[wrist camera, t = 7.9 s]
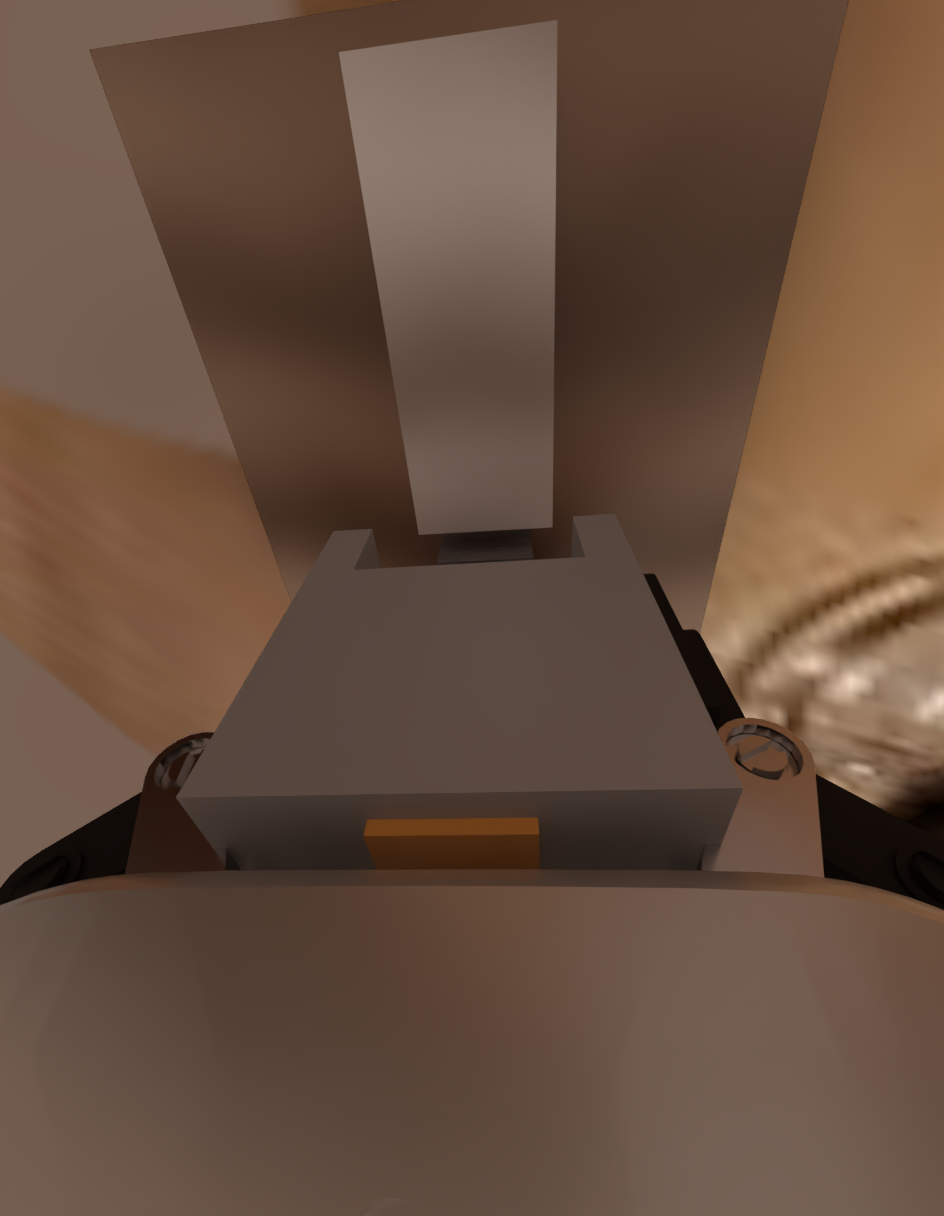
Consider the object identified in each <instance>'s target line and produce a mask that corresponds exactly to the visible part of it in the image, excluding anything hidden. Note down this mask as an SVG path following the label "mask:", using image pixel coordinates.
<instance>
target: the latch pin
mask: <svg viewBox="0 0 944 1216" xmlns="http://www.w3.org/2000/svg"><path fill="white" fill-rule="evenodd" d="M523 560H533V551H532V541H531V532H530V529H514V530H496V531H478V532H460V533H443V536H442V540H441V545H440V550H439V555H438V560H437V565H450V564H468V563H486V562H504V561H523Z"/></svg>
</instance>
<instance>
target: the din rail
mask: <svg viewBox="0 0 944 1216" xmlns="http://www.w3.org/2000/svg"><path fill="white" fill-rule="evenodd" d="M848 1H849V0H406V1H399V2H393V3H387V4H380V5H374V6H367V7H361V8H354V9H348V10H342V11H335V12H329V13H322V14H316V15H309V16H303V17H296V18H290V19H284V20H277V21H271V22H264V23H258V24H252V25H245V26H239V27H233V28H226V29H219V30H214V31H206V32H200V33H193V34H187V35H181V36H174V37H168V38H161V39H155V40H149V41H143V42H136V43H129V44H123V45H116V46H110V47H103V48H97V49H91V50H90V53H91V56H92V58H93V61H94V64H95V67H96V69H97V72H98V75H99V78H100V80H101V83H102V86H103V89H104V91H105V94H106V97H107V100H108V102H109V105H110V108H111V110H112V113H113V116H114V119H115V121H116V124H117V127H118V130H119V132H120V135H121V138H122V141H123V143H124V146H125V149H126V151H127V154H128V157H129V160H130V162H131V165H132V168H133V170H134V173H135V176H136V179H137V181H138V184H139V187H140V190H141V192H142V195H143V198H144V201H145V203H146V206H147V209H148V211H149V214H150V217H151V220H152V222H153V225H154V228H155V231H156V233H157V236H158V239H159V242H160V244H161V247H162V250H163V253H164V255H165V258H166V261H167V263H168V266H169V269H170V272H171V274H172V277H173V280H174V282H175V285H176V288H177V291H178V293H179V296H180V299H181V301H182V304H183V307H184V310H185V313H186V315H187V318H188V321H189V324H190V326H191V329H192V331H193V334H194V337H195V340H196V343H197V345H198V348H199V351H200V354H201V356H202V359H203V362H204V364H205V367H206V370H207V373H208V375H209V378H210V381H211V384H212V386H213V389H214V392H215V394H216V397H217V400H218V403H219V405H220V408H221V411H222V414H223V416H224V419H225V422H226V425H227V427H228V430H229V433H230V435H231V438H232V441H233V444H234V446H235V449H236V452H237V455H238V457H239V460H240V463H241V465H242V468H243V471H244V474H245V476H246V479H247V482H248V485H249V487H250V490H251V493H252V496H253V498H254V501H255V504H256V506H257V509H258V512H259V515H260V517H261V520H262V523H263V526H264V528H265V531H266V534H267V536H268V539H269V542H270V545H271V547H272V550H273V553H274V556H275V558H276V561H277V564H278V567H279V569H280V572H281V575H282V577H283V580H284V583H285V586H286V588H287V591H288V594H289V597H290V599H291V602H292V601H293V599H294V597H295V596H296V594H297V592H298V591H299V589H300V587H301V586H302V584H303V582H304V580H305V579H306V577H307V575H308V574H309V572H310V570H311V569H312V567H313V565H314V564H315V562H316V560H317V558H318V557H319V555H320V553H321V552H322V550H323V548H324V547H325V545H326V543H327V542H328V540H329V538H330V537H331V535H332V533H333V531H345V530H361V529H372V530H373V534H374V539H375V543H376V548H377V552H378V557H379V561H380V566H381V568H395V567H413V566H431V565H437V560H438V555H439V550H440V545H441V540H442V536H443V533H460V532H478V531H496V530H514V529H530V532H531V541H532V551H533V560H541V559H559V558H572V533H573V516H588V515H604V514H615V515H616V517H617V519H618V522H619V524H620V526H621V528H622V530H623V532H624V534H625V536H626V539H627V541H628V543H629V545H630V547H631V549H632V551H633V554H634V556H635V558H636V560H637V562H638V564H639V566H640V568H641V571H642V573H643V574H650V573H653V574H655V575H656V577H657V579H658V581H659V583H660V585H661V587H662V589H663V591H664V593H665V595H666V597H667V599H668V601H669V603H670V605H671V607H672V609H673V611H674V613H675V615H676V617H677V619H678V621H679V623H680V625H681V627H682V629H683V630H688V629H694V630H696V631H698V632H699V634H700V631H701V627H702V622H703V618H704V614H705V610H706V605H707V601H708V597H709V593H710V588H711V584H712V580H713V576H714V571H715V567H716V563H717V559H718V554H719V550H720V546H721V542H722V537H723V533H724V529H725V525H726V520H727V516H728V512H729V507H730V503H731V499H732V495H733V490H734V486H735V482H736V478H737V473H738V469H739V465H740V461H741V456H742V452H743V448H744V444H745V439H746V435H747V431H748V427H749V422H750V418H751V414H752V409H753V405H754V401H755V397H756V392H757V388H758V384H759V380H760V375H761V371H762V367H763V363H764V358H765V354H766V350H767V346H768V341H769V337H770V333H771V329H772V324H773V320H774V316H775V312H776V307H777V303H778V299H779V294H780V290H781V286H782V282H783V277H784V273H785V269H786V265H787V260H788V256H789V252H790V248H791V243H792V239H793V235H794V231H795V226H796V222H797V218H798V214H799V209H800V205H801V201H802V197H803V192H804V188H805V184H806V179H807V175H808V171H809V167H810V162H811V158H812V154H813V150H814V145H815V141H816V137H817V133H818V128H819V124H820V120H821V116H822V111H823V107H824V103H825V99H826V94H827V90H828V86H829V82H830V77H831V73H832V69H833V64H834V60H835V56H836V52H837V47H838V43H839V39H840V35H841V30H842V26H843V22H844V18H845V13H846V9H847V5H848Z"/></svg>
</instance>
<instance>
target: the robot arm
mask: <svg viewBox="0 0 944 1216" xmlns="http://www.w3.org/2000/svg"><path fill="white" fill-rule="evenodd" d="M643 575H644V577H645V579H646V581H647V583H648V586H649V588H650V590H651V592H652V594H653V596H654V598H655V600H656V603H657V605H658V607H659V609H660V611H661V613H662V615H663V617H664V620H665V622H666V624H667V626H668V628H669V630H670V632H671V635H672V637H673V639H674V641H675V643H676V645H677V647H678V649H679V652H680V654H681V656H682V658H683V660H684V662H685V664H686V667H687V669H688V671H689V673H690V675H691V677H692V679H693V681H694V684H695V686H696V688H697V690H698V692H699V694H700V696H701V699H702V701H703V703H704V705H705V707H706V709H707V711H708V713H709V716H710V718H711V720H712V722H713V724H714V726H715V728H716V731H717V733H718V735H719V737H720V739H721V741H722V743H723V745H724V748H725V750H726V752H727V754H728V756H729V758H730V760H731V763H732V765H733V767H734V769H735V771H736V773H737V775H738V777H739V780H740V782H741V784H742V786H743V790H742V793H741V795H740V798H739V801H738V803H737V806H736V808H735V811H734V814H733V816H732V819H731V821H730V824H729V826H728V829H727V832H726V834H725V837H724V839H723V842H722V844H704V847H703V850H702V853H701V856H700V858H699V861H698V864H697V870H696V871H691V870H539V869H460V870H250V871H240V867H239V866H238V864H237V863H236V861H235V860H234V858H233V857H232V856H231V854H230V853H229V851H228V850H227V848H212V846H211V845H210V843H209V842H208V841H207V839H206V838H205V837H204V835H203V834H202V833H201V831H200V830H199V828H198V827H197V826H196V824H195V823H194V822H193V820H192V819H191V818H190V816H189V815H188V813H187V812H186V811H185V809H184V808H183V807H182V805H181V804H180V802H179V801H178V800H177V798H176V797H177V795H178V793H179V791H180V790H181V788H182V786H183V785H184V783H185V781H186V780H187V778H188V776H189V775H190V773H191V771H192V770H193V768H194V766H195V764H196V763H197V761H198V759H199V758H200V756H201V754H202V753H203V751H204V749H205V748H206V746H207V744H208V743H209V741H210V739H211V737H212V736H213V734H214V732H202V733H197V734H192V735H189V736H187V737H185V738H182V739H180V740H178V741H176V742H175V743H173V744H172V745H170V746H168V747H167V748H166V749H165V750H163V751H162V752H161V753H160V754H159V755H158V756H157V757H156V758H155V759H154V761H153V762H152V764H151V765H150V766H149V768H148V771H147V773H146V776H145V780H144V784H143V789H142V792H141V793H139V794H137V795H136V796H134V797H132V798H130V799H129V800H127V801H125V802H124V803H122V804H120V805H119V806H117V807H115V808H113V809H112V810H110V811H109V812H107V813H105V814H103V815H102V816H100V817H98V818H97V819H95V820H93V821H91V822H90V823H88V824H86V825H85V826H83V827H81V828H79V829H78V830H76V831H74V832H73V833H71V834H69V835H68V836H66V837H64V838H62V839H61V840H59V841H57V842H56V843H54V844H52V845H51V846H49V847H47V848H45V849H44V850H42V851H40V852H39V853H38V854H36V855H34V856H33V857H32V858H30V859H29V860H27V861H26V862H24V863H23V864H22V865H21V866H20V867H19V868H18V869H17V870H16V871H15V872H13V873H12V874H11V875H10V876H9V878H8V879H7V880H6V881H5V883H4V884H3V885H2V887H1V888H0V1216H944V842H943V841H941V840H939V839H937V838H935V837H934V836H932V835H930V834H928V833H926V832H924V831H922V830H920V829H918V828H917V827H915V826H913V825H911V824H909V823H907V822H905V821H903V820H901V819H900V818H898V817H896V816H894V815H892V814H890V813H888V812H886V811H884V810H883V809H881V808H879V807H877V806H875V805H873V804H871V803H869V802H867V801H866V800H864V799H862V798H860V797H858V796H856V795H854V794H852V793H850V792H849V791H847V790H845V789H843V788H841V787H839V786H837V785H835V784H833V783H832V782H830V781H828V780H826V779H824V778H822V777H820V776H818V775H817V774H816V772H815V763H814V760H813V757H812V753H811V752H810V751H809V749H808V748H807V746H806V745H805V744H804V742H803V741H802V740H800V739H799V738H798V737H797V736H796V735H795V734H793V733H792V732H791V731H789V730H787V729H785V728H783V727H782V726H780V725H778V724H775V723H772V722H769V721H766V720H763V719H756V718H745V717H744V715H743V713H742V711H741V709H740V707H739V706H738V704H737V702H736V700H735V698H734V696H733V694H732V693H731V691H730V689H729V687H728V685H727V683H726V681H725V680H724V678H723V676H722V674H721V672H720V670H719V668H718V667H717V665H716V663H715V661H714V659H713V657H712V655H711V654H710V652H709V650H708V648H707V646H706V644H705V642H704V641H703V639H702V637H701V635H700V634H699V632H698V631H696V630H694V629H688V630H683V629H682V627H681V625H680V623H679V621H678V619H677V617H676V615H675V613H674V611H673V609H672V607H671V605H670V603H669V601H668V599H667V597H666V595H665V593H664V591H663V589H662V587H661V585H660V583H659V581H658V579H657V577H656V575H655V574H653V573H650V574H643Z"/></svg>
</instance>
